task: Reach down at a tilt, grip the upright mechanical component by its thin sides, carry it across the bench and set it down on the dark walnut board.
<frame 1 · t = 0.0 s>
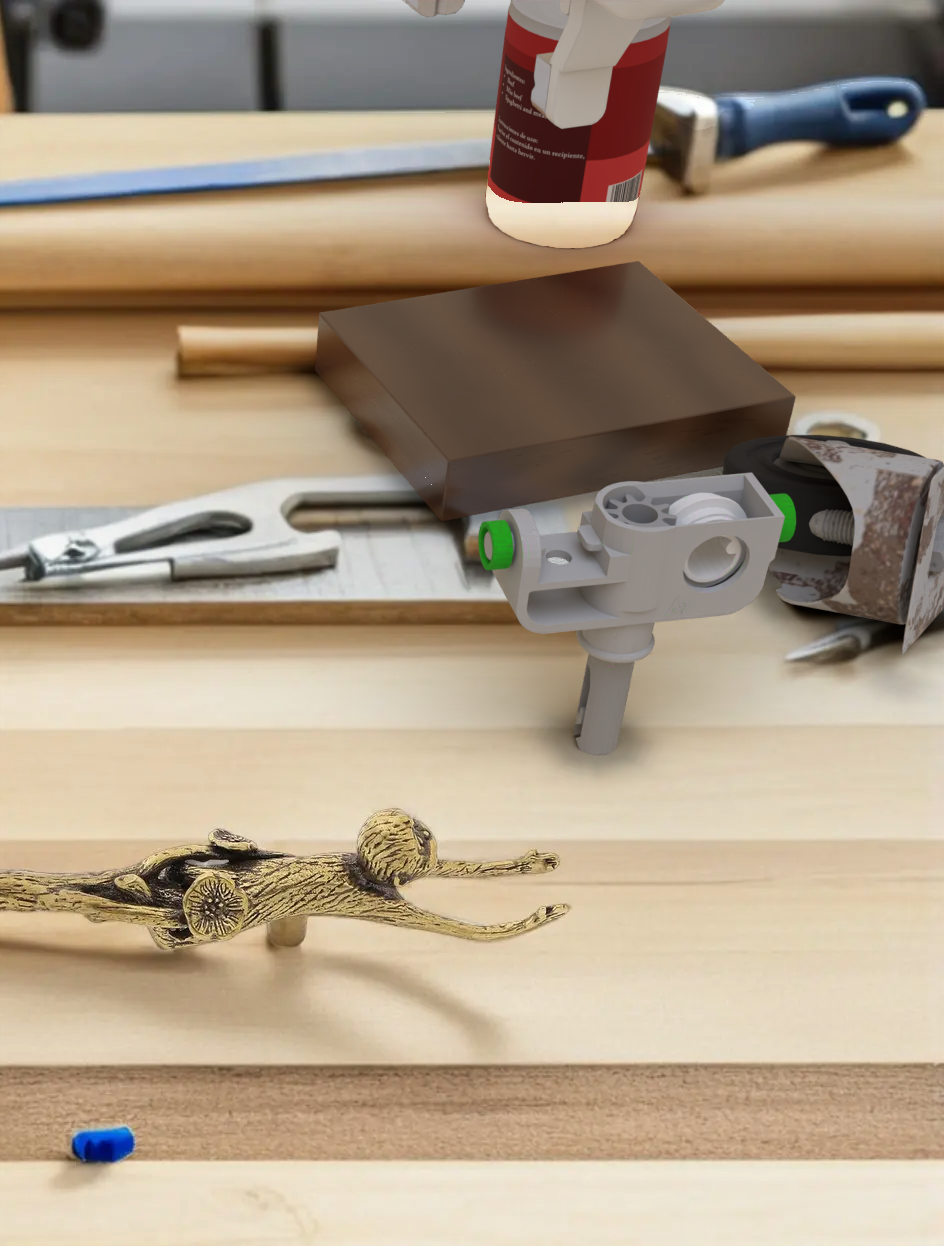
hand: (494, 60, 66), 21 cm above the table, tool pointing down, fingers open, 8 cm apart
canned food: (557, 222, 106), on the table
plinth: (541, 414, 91), on the table
mechanical component: (593, 749, 74), on the table
caster wheel: (820, 570, 83), on the table
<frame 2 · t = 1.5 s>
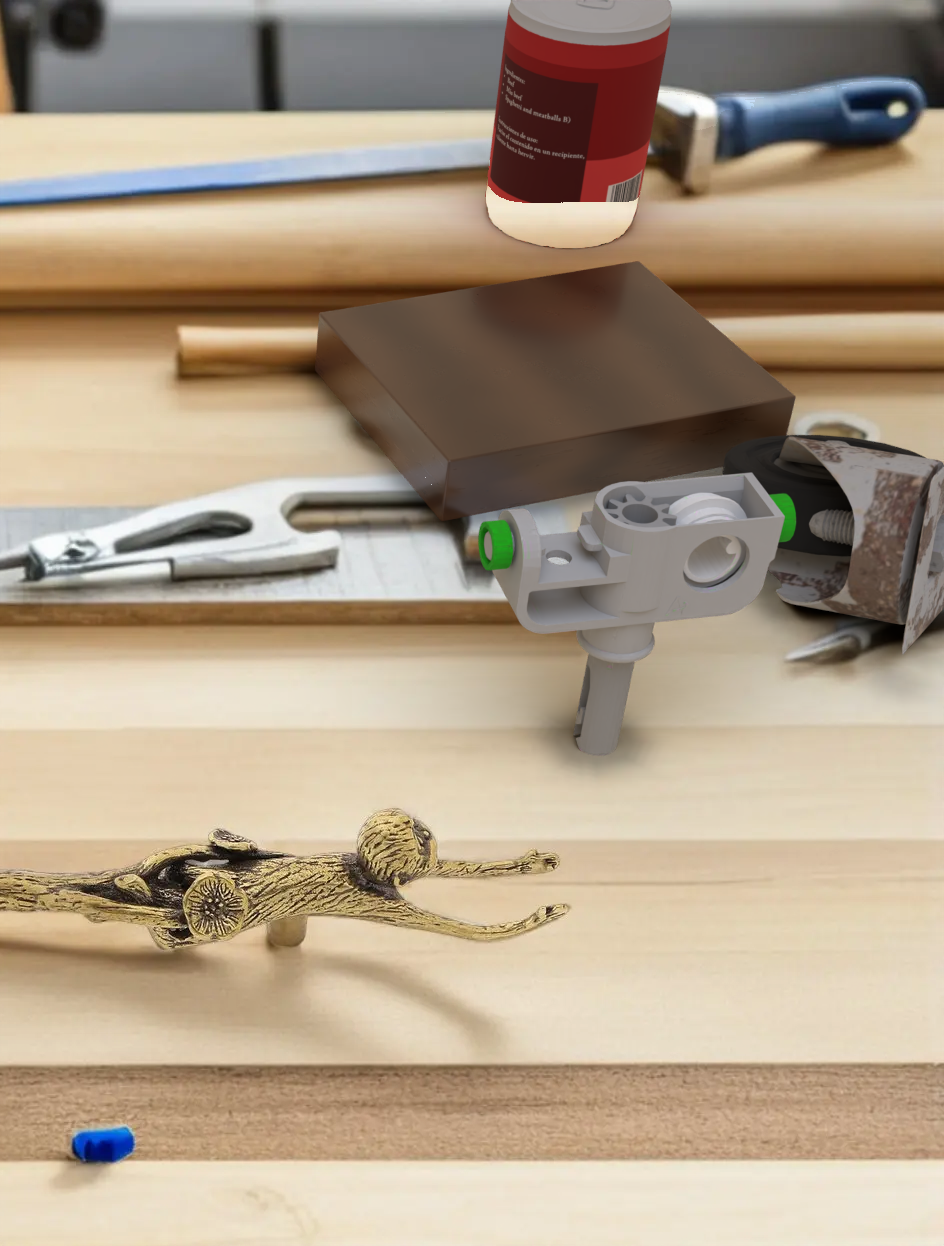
nothing on the table moved.
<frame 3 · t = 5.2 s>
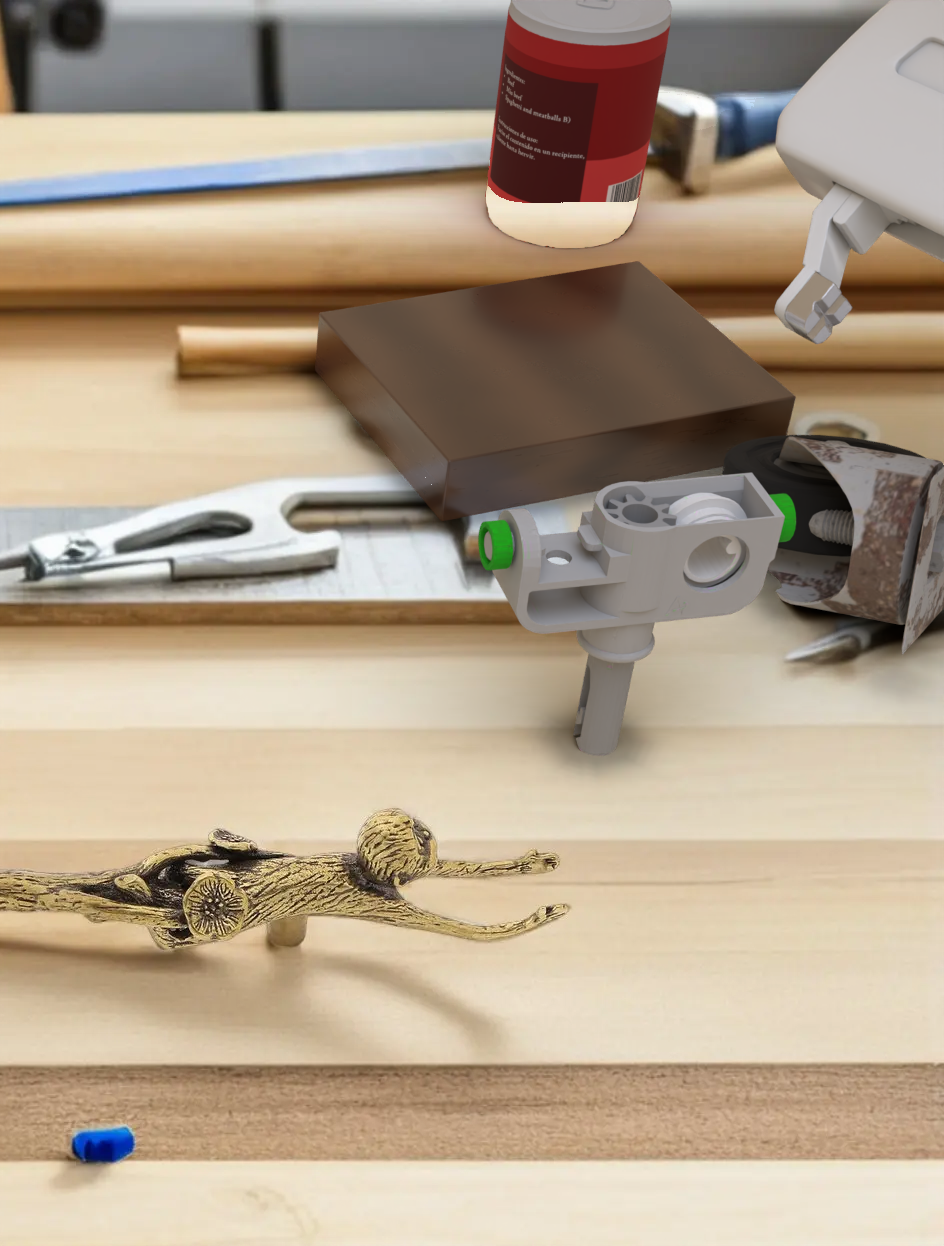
hand: (897, 387, 69), 12 cm above the table, tool tilted 45°, fingers open, 8 cm apart
nothing on the table moved.
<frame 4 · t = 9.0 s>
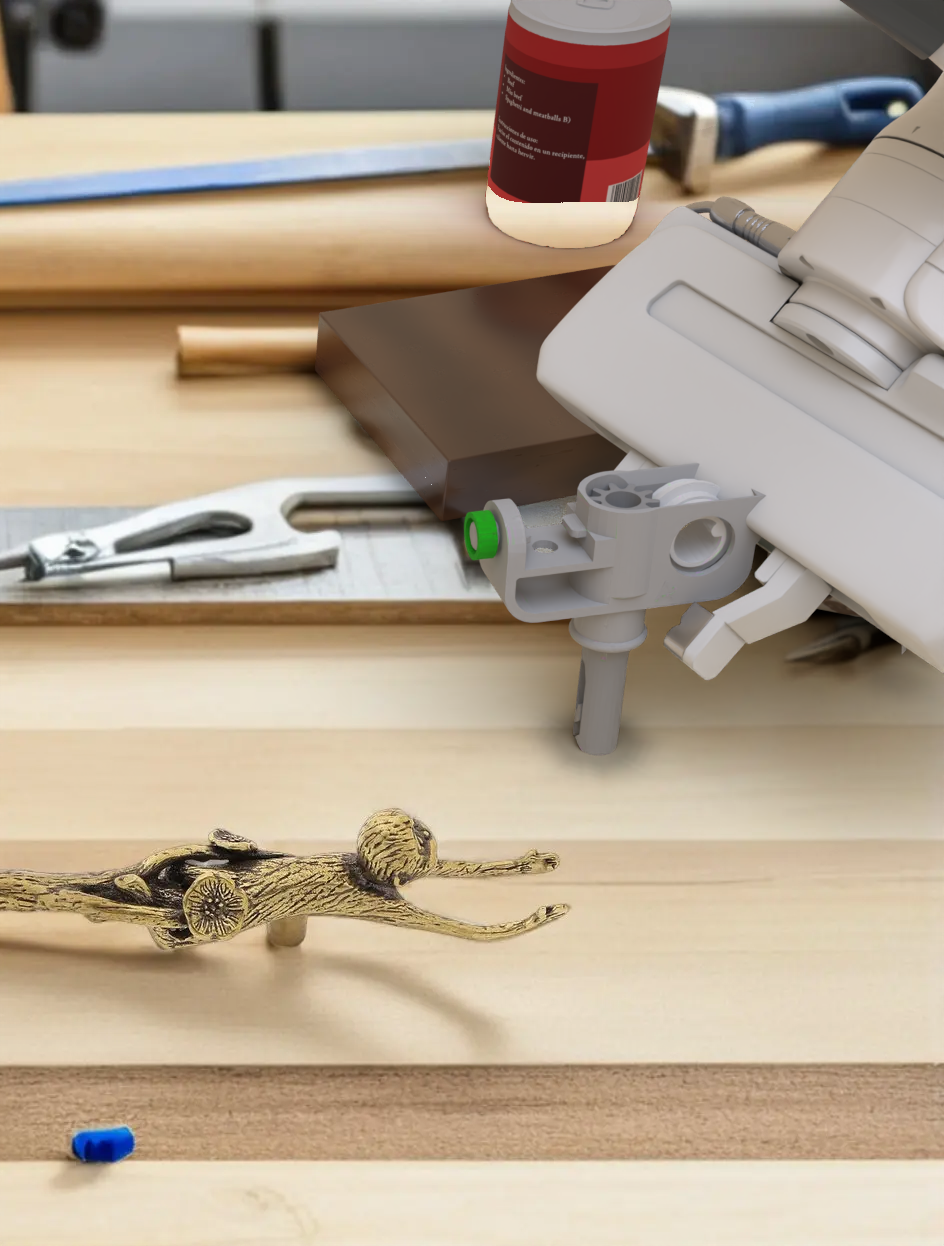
hand: (637, 627, 71), 5 cm above the table, tool tilted 45°, fingers closed on mechanical component, 3 cm apart
mechanical component: (594, 748, 74), on the table, touching gripper
everything else where it was.
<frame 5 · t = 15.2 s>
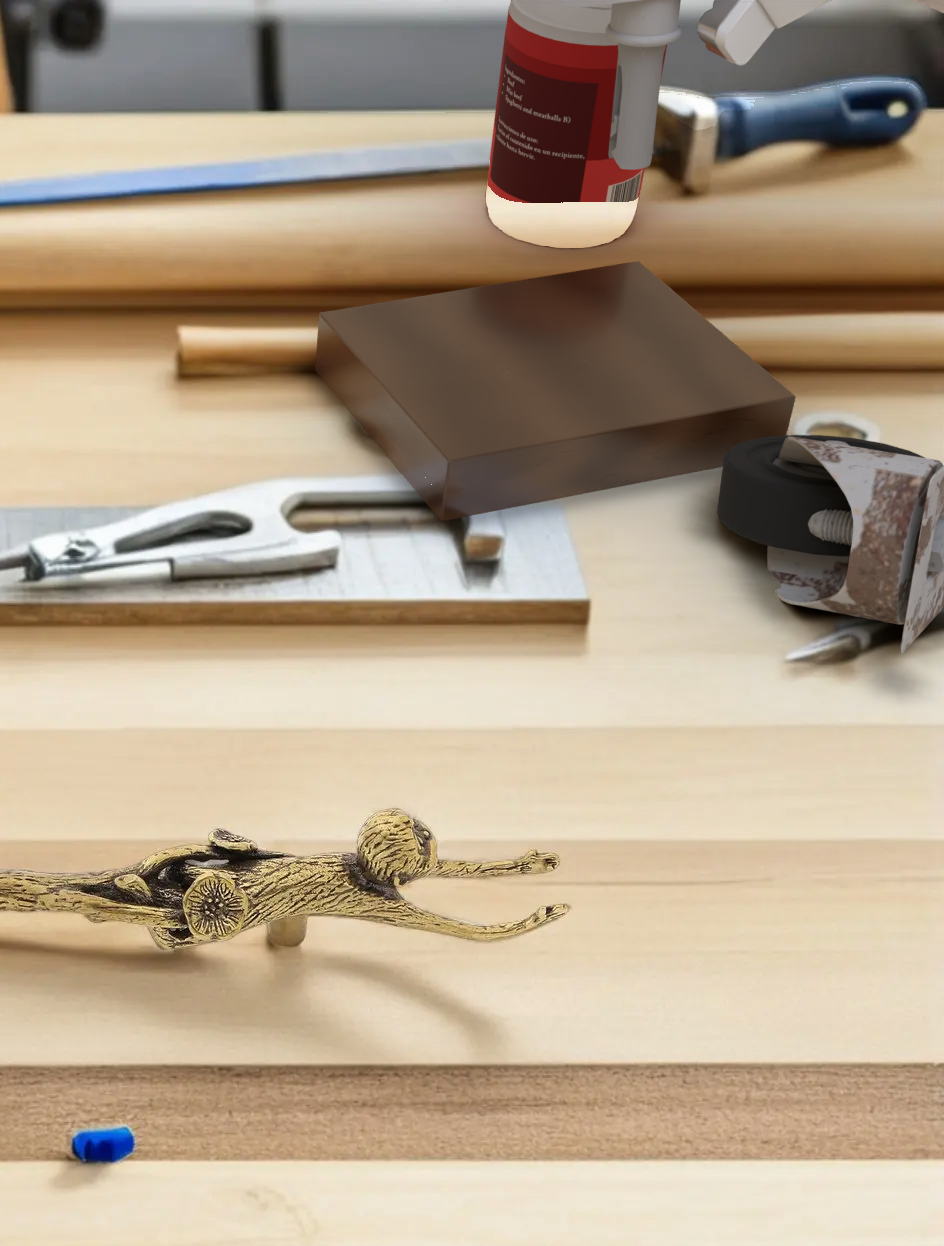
hand: (671, 27, 74), 19 cm above the table, tool tilted 45°, fingers closed on mechanical component, 3 cm apart
mechanical component: (629, 166, 77), point 14 cm above the table, touching gripper
everything else where it was.
when the fingers open (8 cm above the table, at t = 21.7 s): mechanical component stays where it is, resting on plinth.
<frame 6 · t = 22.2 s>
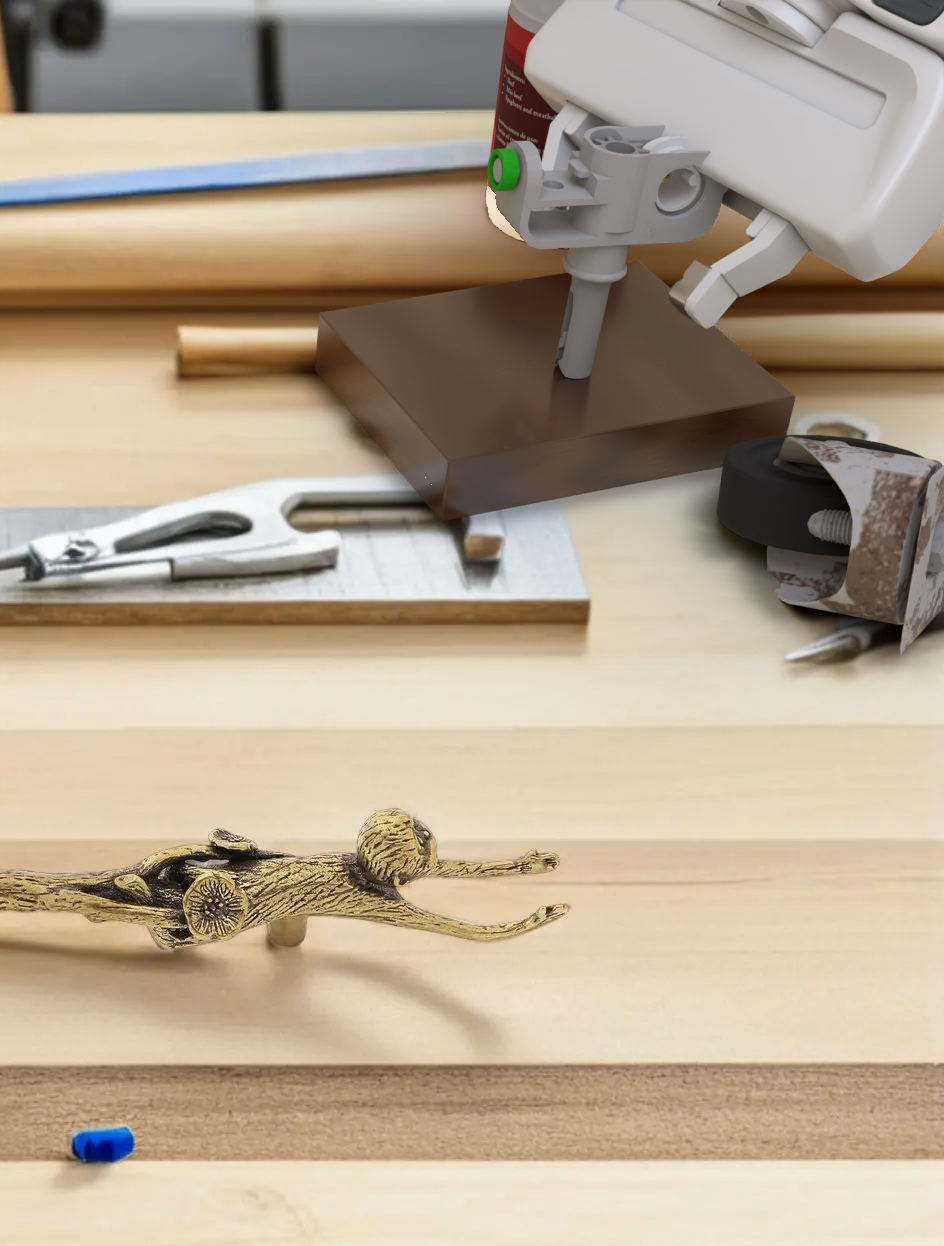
hand: (607, 266, 85), 8 cm above the table, tool tilted 45°, fingers open, 8 cm apart
mechanical component: (572, 373, 88), point 3 cm above the table, touching plinth
everything else where it was.
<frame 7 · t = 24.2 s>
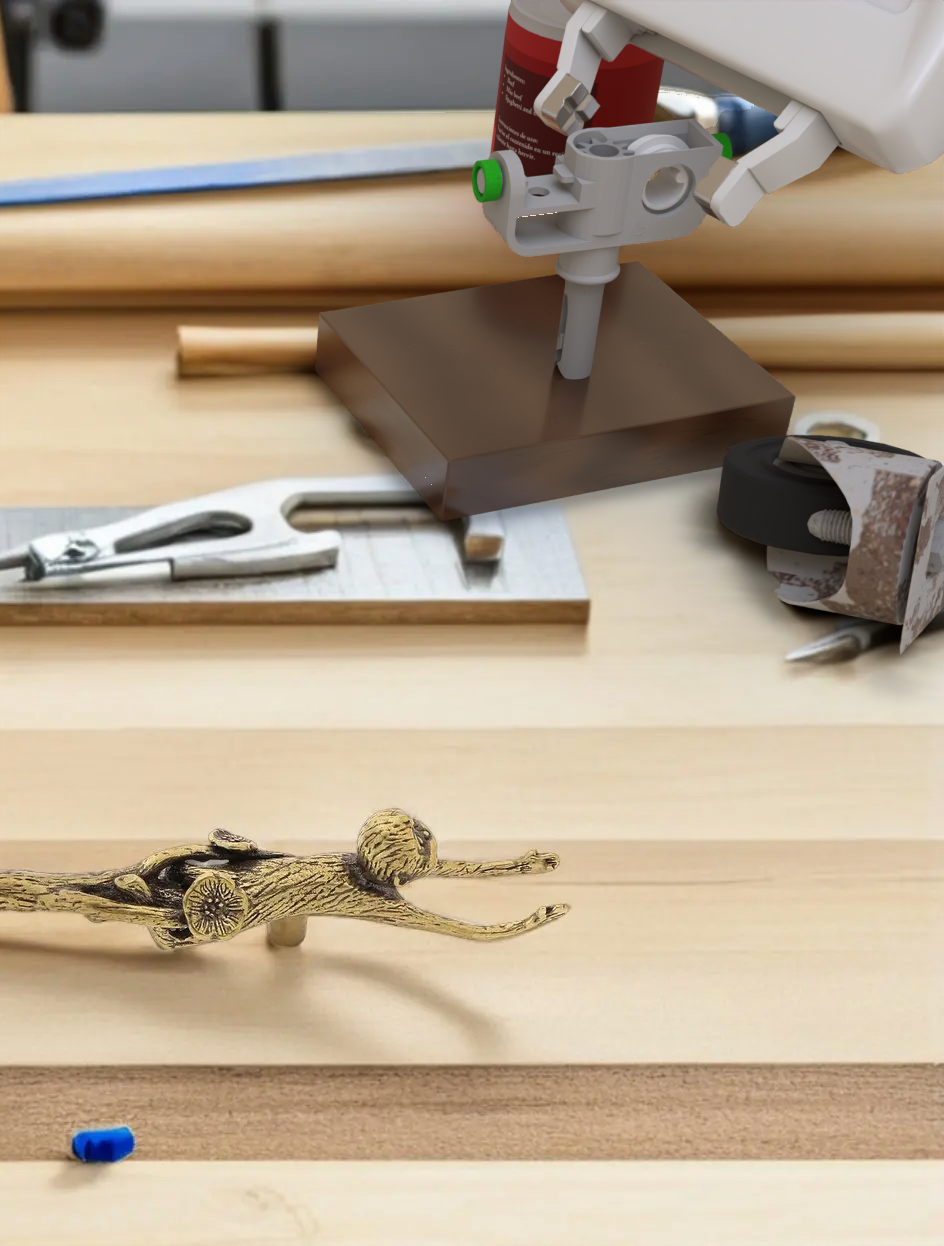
hand: (628, 166, 82), 12 cm above the table, tool tilted 45°, fingers open, 8 cm apart
nothing on the table moved.
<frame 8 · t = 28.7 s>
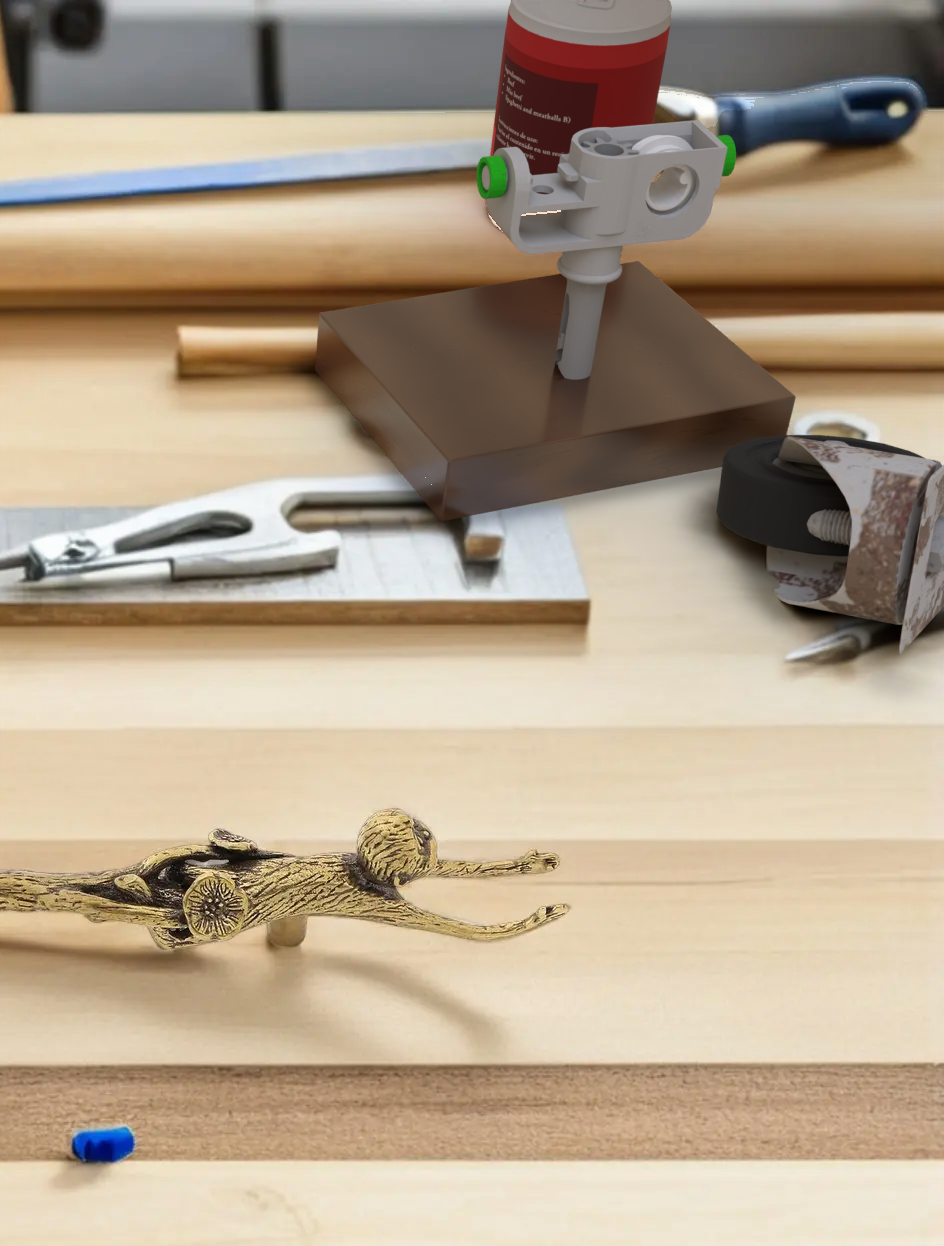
nothing on the table moved.
at the end: mechanical component inside the target area on the plinth (1.6 cm from its centre), point 2.8 cm above the plinth's base; the gripper is holding nothing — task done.
